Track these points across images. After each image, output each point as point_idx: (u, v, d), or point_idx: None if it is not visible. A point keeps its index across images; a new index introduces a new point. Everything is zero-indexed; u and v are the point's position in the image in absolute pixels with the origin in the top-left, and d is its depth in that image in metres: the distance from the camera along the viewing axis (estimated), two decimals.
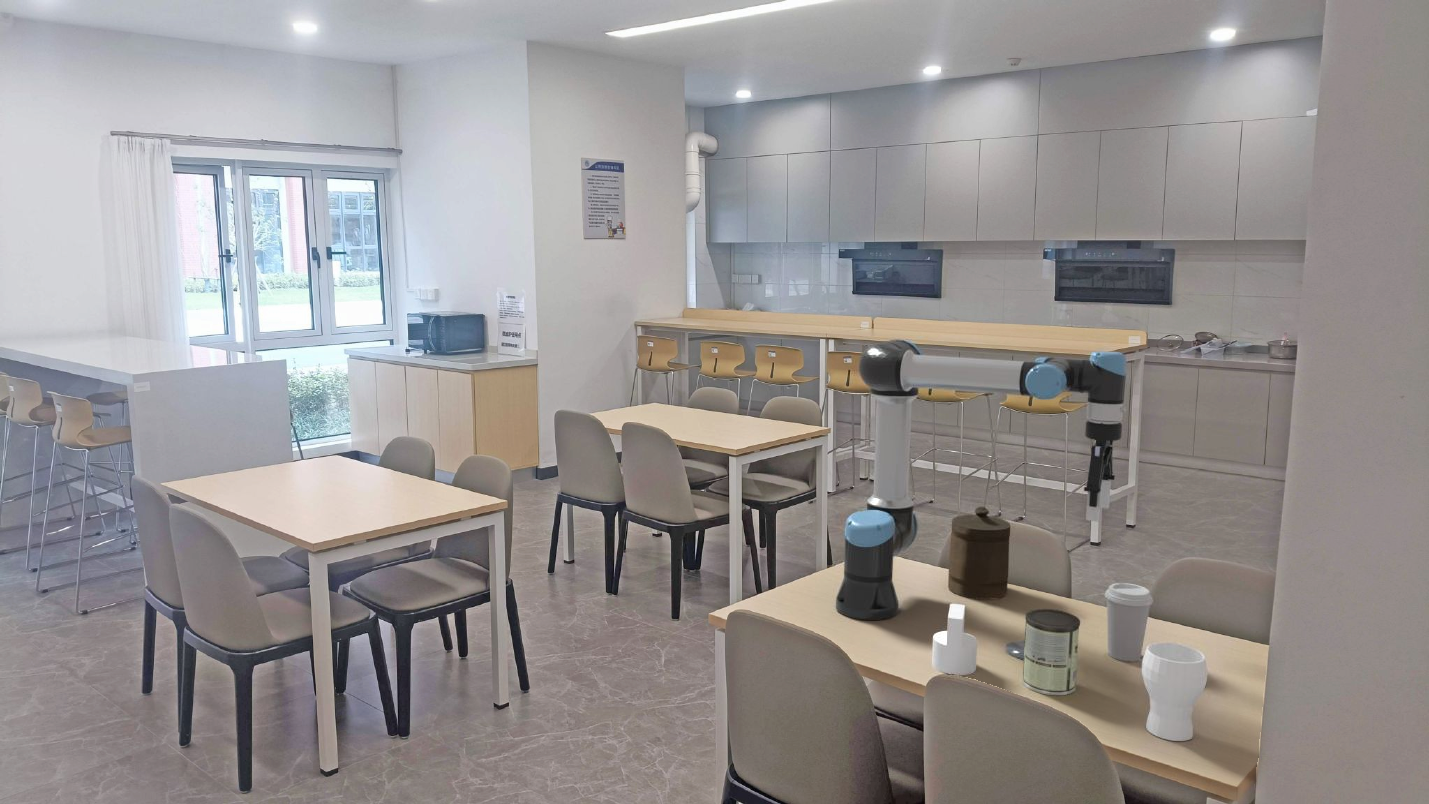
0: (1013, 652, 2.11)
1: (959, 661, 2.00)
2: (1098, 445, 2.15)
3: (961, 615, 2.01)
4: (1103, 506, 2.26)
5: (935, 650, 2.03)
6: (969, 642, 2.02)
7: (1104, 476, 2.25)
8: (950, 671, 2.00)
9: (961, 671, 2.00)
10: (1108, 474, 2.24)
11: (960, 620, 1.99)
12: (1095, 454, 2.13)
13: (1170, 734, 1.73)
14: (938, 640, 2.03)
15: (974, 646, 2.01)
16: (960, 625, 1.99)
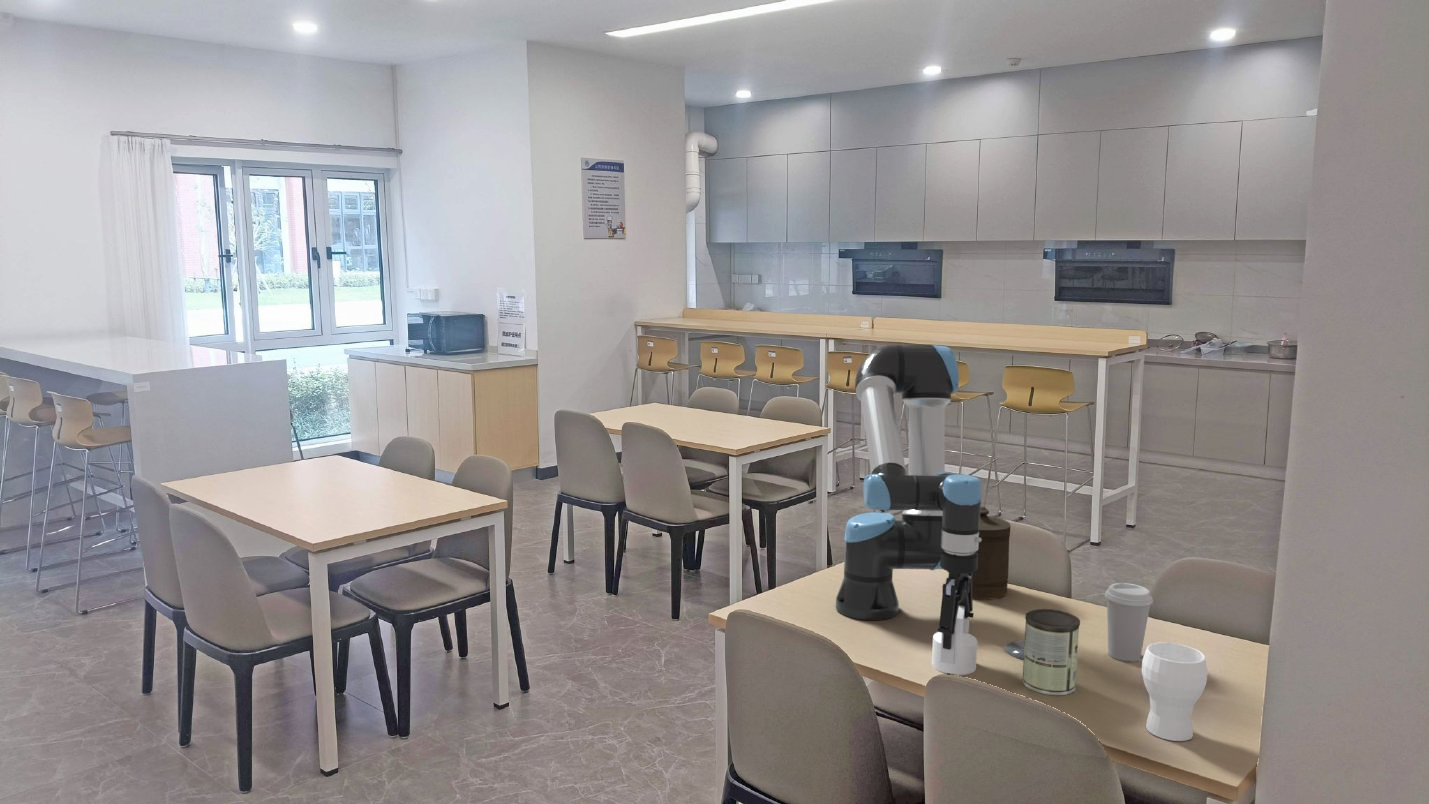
0: (1013, 652, 2.11)
1: (959, 660, 2.00)
2: (951, 579, 1.99)
3: (961, 615, 2.01)
4: None
5: (935, 650, 2.03)
6: (969, 642, 2.02)
7: None
8: (950, 671, 2.01)
9: (961, 671, 2.00)
10: (966, 610, 2.07)
11: (960, 620, 1.99)
12: (946, 593, 1.97)
13: (1170, 734, 1.73)
14: (938, 640, 2.03)
15: (974, 646, 2.01)
16: (960, 625, 1.99)
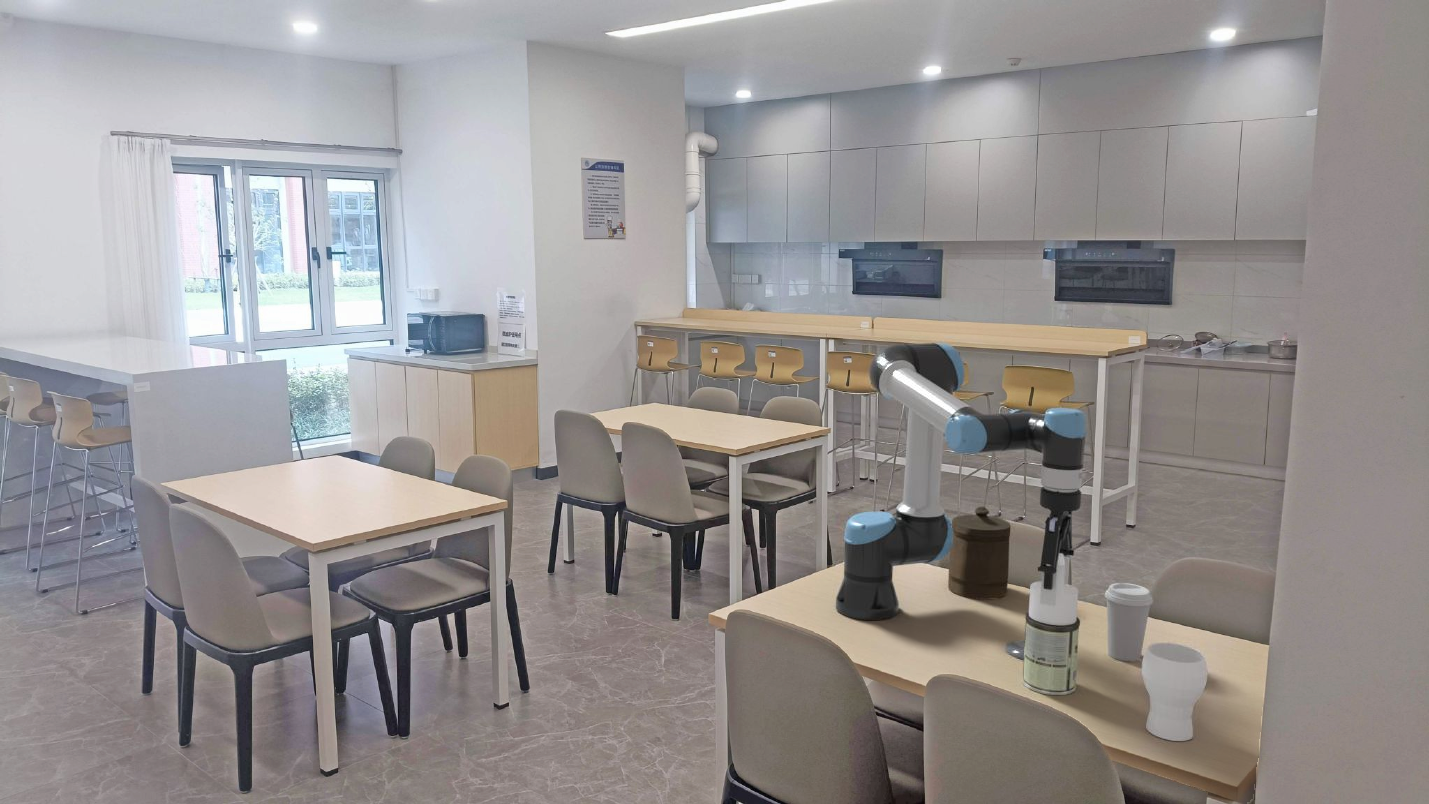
0: (1013, 652, 2.11)
1: (1060, 610, 1.89)
2: (1054, 517, 1.88)
3: (1062, 562, 1.90)
4: None
5: (1033, 600, 1.92)
6: (1070, 591, 1.91)
7: (1062, 551, 1.98)
8: (1050, 621, 1.90)
9: (1062, 621, 1.90)
10: (1066, 548, 1.97)
11: (1062, 567, 1.88)
12: (1049, 529, 1.86)
13: (1170, 734, 1.73)
14: (1037, 589, 1.92)
15: (1076, 595, 1.90)
16: (1062, 572, 1.88)
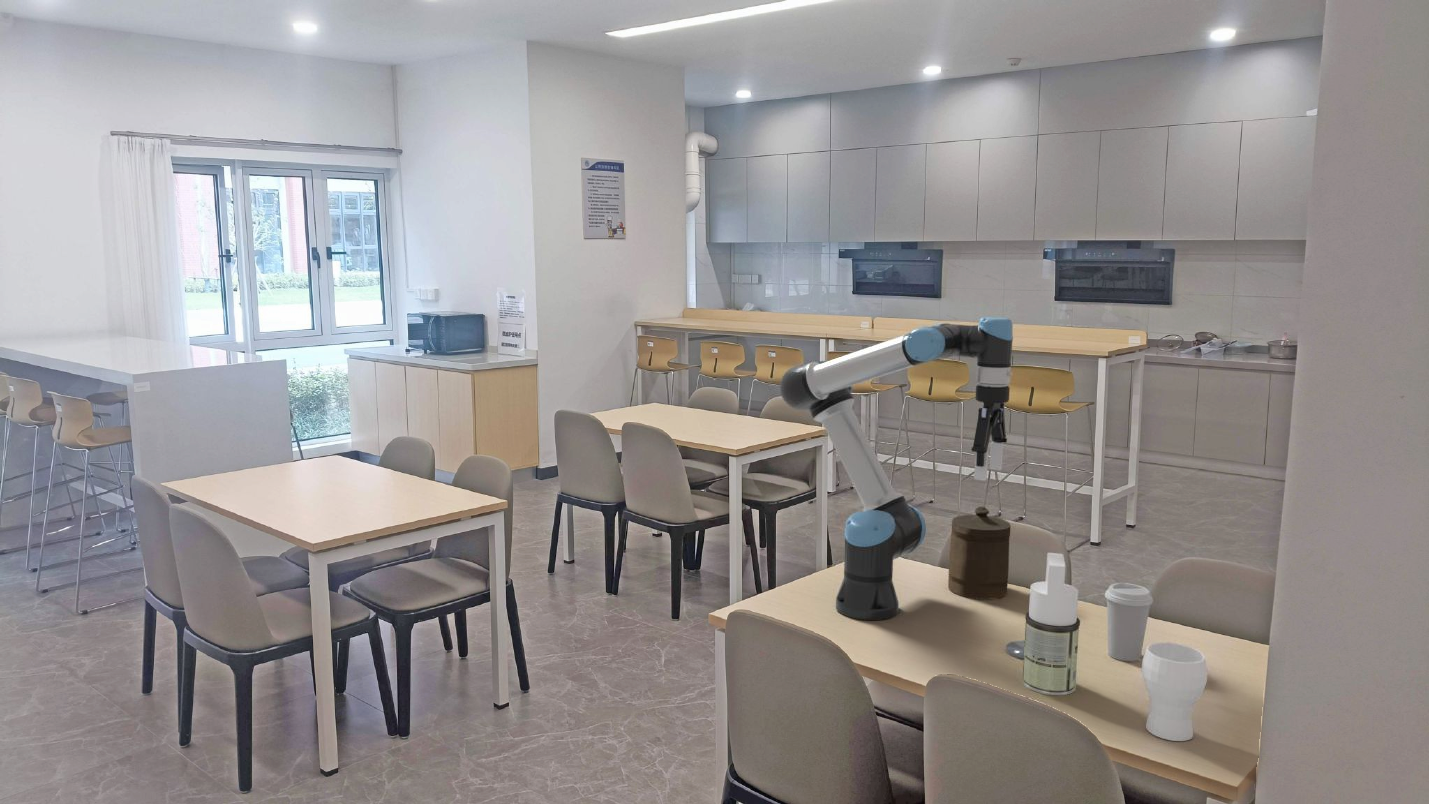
0: (1013, 652, 2.11)
1: (1061, 611, 1.89)
2: (986, 407, 2.23)
3: (1062, 563, 1.90)
4: (996, 468, 2.34)
5: (1034, 600, 1.92)
6: (1070, 592, 1.91)
7: (997, 439, 2.34)
8: (1051, 622, 1.90)
9: (1063, 622, 1.90)
10: (1000, 437, 2.32)
11: (1062, 567, 1.88)
12: (981, 416, 2.21)
13: (1170, 734, 1.73)
14: (1037, 590, 1.92)
15: (1076, 596, 1.90)
16: (1062, 573, 1.88)
